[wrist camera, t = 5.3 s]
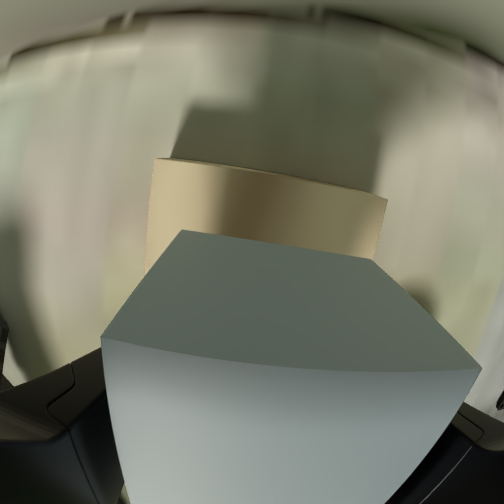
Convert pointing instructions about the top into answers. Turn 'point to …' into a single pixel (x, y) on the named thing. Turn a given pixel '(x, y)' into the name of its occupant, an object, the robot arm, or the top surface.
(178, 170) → the beech slab
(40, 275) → the top surface
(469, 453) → the robot arm
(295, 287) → the blue-grey cube
